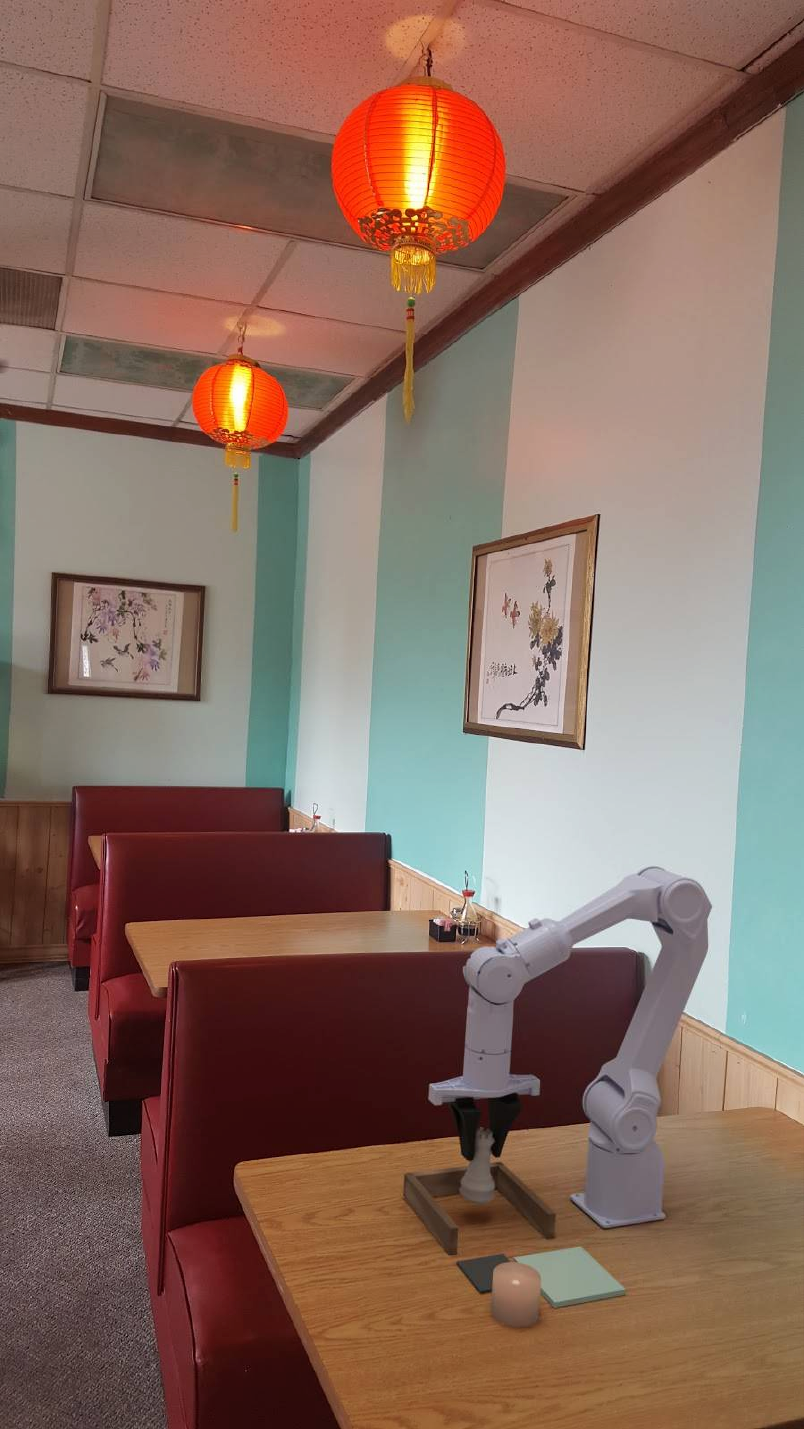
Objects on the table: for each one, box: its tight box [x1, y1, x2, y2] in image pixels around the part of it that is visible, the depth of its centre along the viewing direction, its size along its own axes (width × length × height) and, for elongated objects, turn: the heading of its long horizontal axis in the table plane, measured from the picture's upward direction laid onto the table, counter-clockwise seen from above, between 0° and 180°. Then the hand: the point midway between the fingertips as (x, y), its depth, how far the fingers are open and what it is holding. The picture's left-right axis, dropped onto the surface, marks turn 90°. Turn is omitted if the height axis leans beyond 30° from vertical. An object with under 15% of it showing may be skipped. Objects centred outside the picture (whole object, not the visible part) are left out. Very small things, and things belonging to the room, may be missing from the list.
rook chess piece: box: [459, 1126, 496, 1204], centre depth 124 cm, size 4×4×8 cm
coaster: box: [512, 1246, 626, 1309], centre depth 112 cm, size 9×9×1 cm
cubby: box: [402, 1161, 557, 1255], centre depth 125 cm, size 14×14×3 cm
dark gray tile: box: [456, 1253, 511, 1295], centre depth 112 cm, size 6×6×1 cm
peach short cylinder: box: [490, 1261, 541, 1329], centre depth 105 cm, size 5×5×4 cm
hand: (480, 1155), depth 125 cm, fingers closed on rook chess piece, 3 cm apart
